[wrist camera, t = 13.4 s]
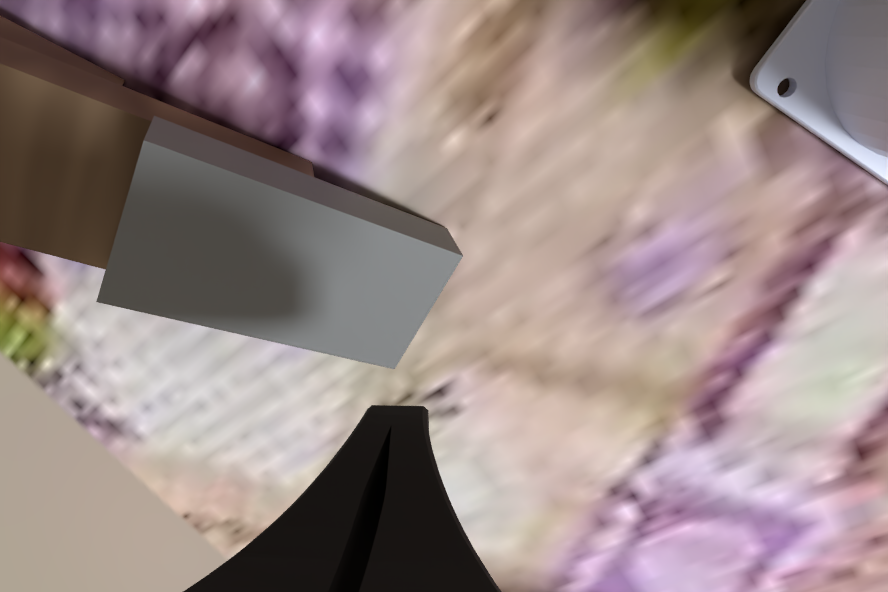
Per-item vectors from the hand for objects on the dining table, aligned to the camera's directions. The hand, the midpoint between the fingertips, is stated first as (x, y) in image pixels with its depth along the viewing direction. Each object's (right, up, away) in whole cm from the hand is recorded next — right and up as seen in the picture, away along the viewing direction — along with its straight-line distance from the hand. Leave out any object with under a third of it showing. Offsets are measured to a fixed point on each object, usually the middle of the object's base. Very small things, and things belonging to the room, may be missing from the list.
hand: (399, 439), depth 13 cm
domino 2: (0, +3, +6) cm, 7 cm away
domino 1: (-4, +5, +5) cm, 8 cm away
